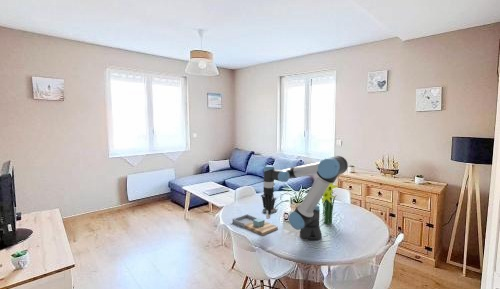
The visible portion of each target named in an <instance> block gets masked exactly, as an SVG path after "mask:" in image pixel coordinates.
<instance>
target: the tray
mask: <svg viewBox="0 0 500 289" xmlns="http://www.w3.org/2000/svg"><path fill="white" fill-rule="evenodd" d="M257 218H258V217H256V216H253V215H252V214H251V215H250V214H244V215H241V216H237V217H235V218H232V223H233V224H234V225H237V226H239V227H242V228H244V225H245V224H248V223H251V222H253V220H254V219H257Z"/></svg>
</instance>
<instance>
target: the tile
mask: <svg viewBox="0 0 500 289" xmlns="http://www.w3.org/2000/svg"><path fill="white" fill-rule="evenodd" d="M256 218H257V219H254V220H253V225H254V226H257V227H261V226H263V225H264V222H265V219H263V218H260V217H256Z"/></svg>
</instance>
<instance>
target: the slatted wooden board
mask: <svg viewBox="0 0 500 289" xmlns="http://www.w3.org/2000/svg"><path fill="white" fill-rule="evenodd" d="M243 228H244V229H246V230H249V231H251V232H254V233H256V234H259V235H261V236H265V235H267V234H270V233H273V232H274V231H277V230H278V229H279V226H277V225H274V224H272V223H268V221H267V222H266V221H264V225H263V226H261V227H257V226H254V225H253V222H251V223H248V224H245V225H244V227H243Z"/></svg>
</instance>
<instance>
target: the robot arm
mask: <svg viewBox="0 0 500 289" xmlns="http://www.w3.org/2000/svg"><path fill="white" fill-rule="evenodd" d="M348 164H349V162H348V161H347V159H346V158H345V157H344V156H342V155H341V156H340V155H334V156H327V157H325V158H323V159H321V160H320V161H318V162H315V163H309V164H303V165H298V166H294V167H293V166H292V167H288V168H284V169H277V168H276V169H275V166H274V165H271V164H270V165H269V164H267V165H264V167H263V194H261V195H260V197H261V200H262V205H263V209H264V208H265V209H266V213H265V215H266V216H265V219H266V220H269V219H271V214H272V213H271V210H273V208H275V203H276V200H277V197H275V196H274V195H275V194H274V192H275V181H276V182H282V183H286V182H288V181H289V180H290V179H295V178H302V177H307V176H313V175H317V177H316V178H315V180H314V182H313V183H312V184H311V187H310V188H309V190H308V192H307V193H306V195H305V197H304V198H303V200H302V202H301V203H299V204H298V205H297V206H296V207H295V209H294V211H292V212H290V213H289V215H288V221H289V224H290V226H291V227H292V228H293V229H295V230H298V231H299V237H300V238H301V239H302V240H304V241H305V240H306V241H311V242H315V241H320V240H321V239H322V238H323V237H322V236H323V235H322V231H321V227H320V212H321V210H320V209H321V208H320V206H319V205H318V204H319V202H320V201H321V200H322V198H323V197H324V196H323V194H324V193H325V191H326V189H327V188H328V186H329V185H330V183H333V184H335V182H336V180H337V179H338V176H340V175H342V174H345V172H346V171H347V170H348V167H349V165H348Z"/></svg>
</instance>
